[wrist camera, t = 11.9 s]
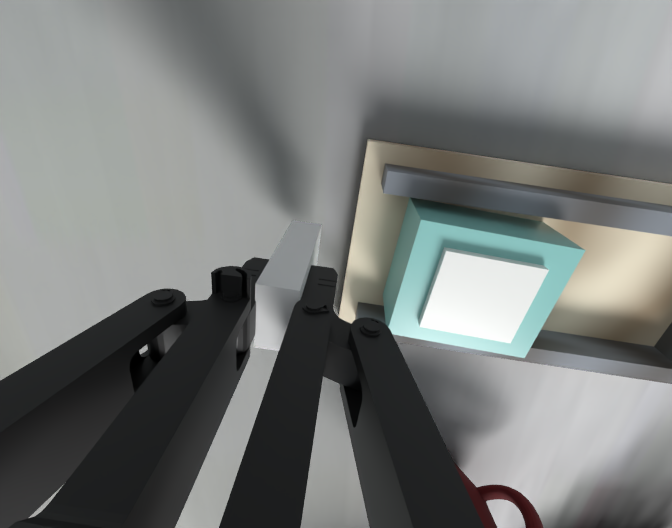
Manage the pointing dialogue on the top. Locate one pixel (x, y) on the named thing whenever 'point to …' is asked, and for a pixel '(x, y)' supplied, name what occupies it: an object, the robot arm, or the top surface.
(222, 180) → the top surface
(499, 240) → the block
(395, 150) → the rail mount
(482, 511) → the mug
